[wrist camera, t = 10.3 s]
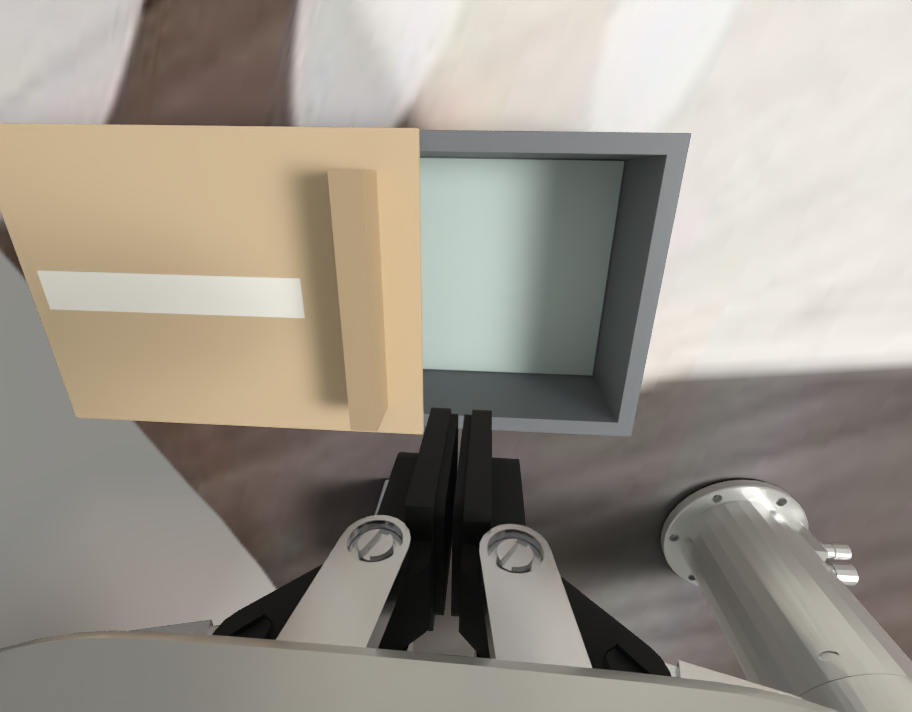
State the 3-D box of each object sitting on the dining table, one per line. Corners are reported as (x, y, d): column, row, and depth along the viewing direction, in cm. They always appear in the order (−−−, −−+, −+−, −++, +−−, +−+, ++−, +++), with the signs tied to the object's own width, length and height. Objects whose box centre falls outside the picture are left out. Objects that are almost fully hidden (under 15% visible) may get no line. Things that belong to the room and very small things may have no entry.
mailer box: (639, 143, 29) (691, 133, 22) (601, 383, 36) (630, 436, 29) (292, 139, 31) (230, 127, 23) (318, 371, 38) (278, 419, 30)
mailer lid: (419, 129, 22) (407, 121, 19) (423, 429, 29) (415, 461, 26) (-20, 124, 24) (-102, 115, 20) (83, 413, 31) (35, 442, 27)
